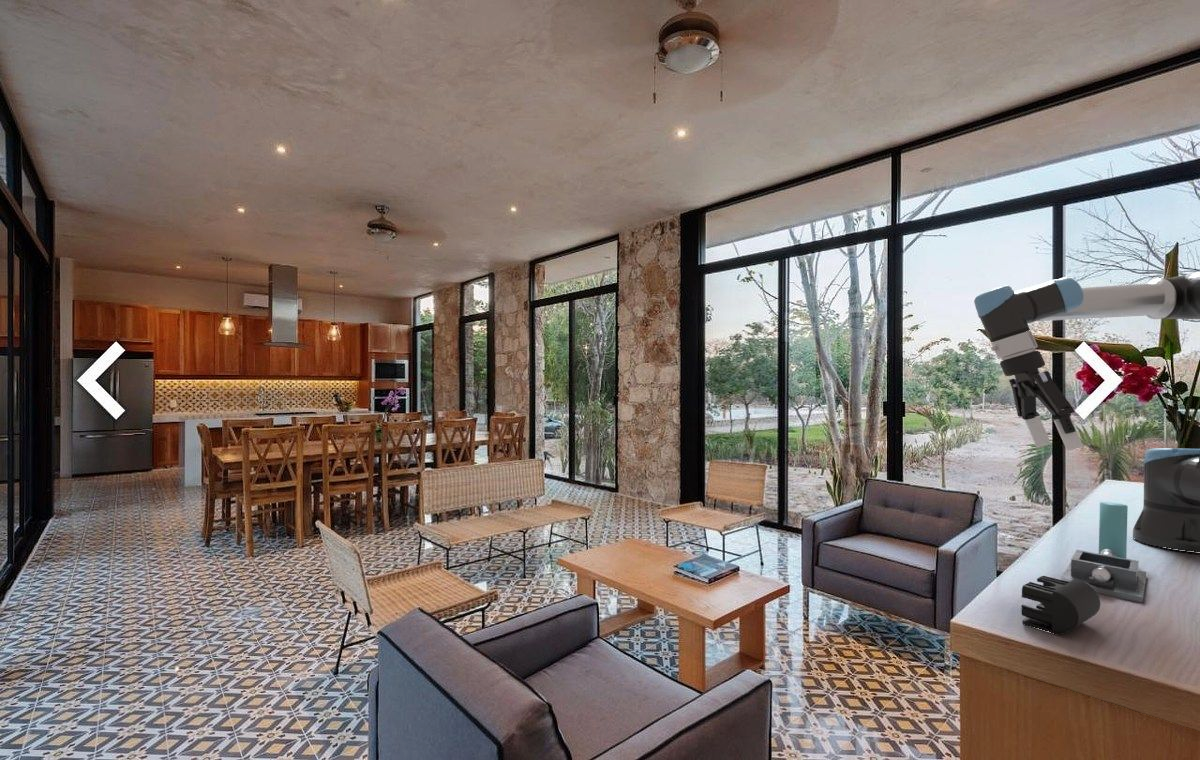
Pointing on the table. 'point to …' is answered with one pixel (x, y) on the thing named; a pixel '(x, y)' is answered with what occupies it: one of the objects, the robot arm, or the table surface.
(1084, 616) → the end cap
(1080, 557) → the stand
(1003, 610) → the table surface
